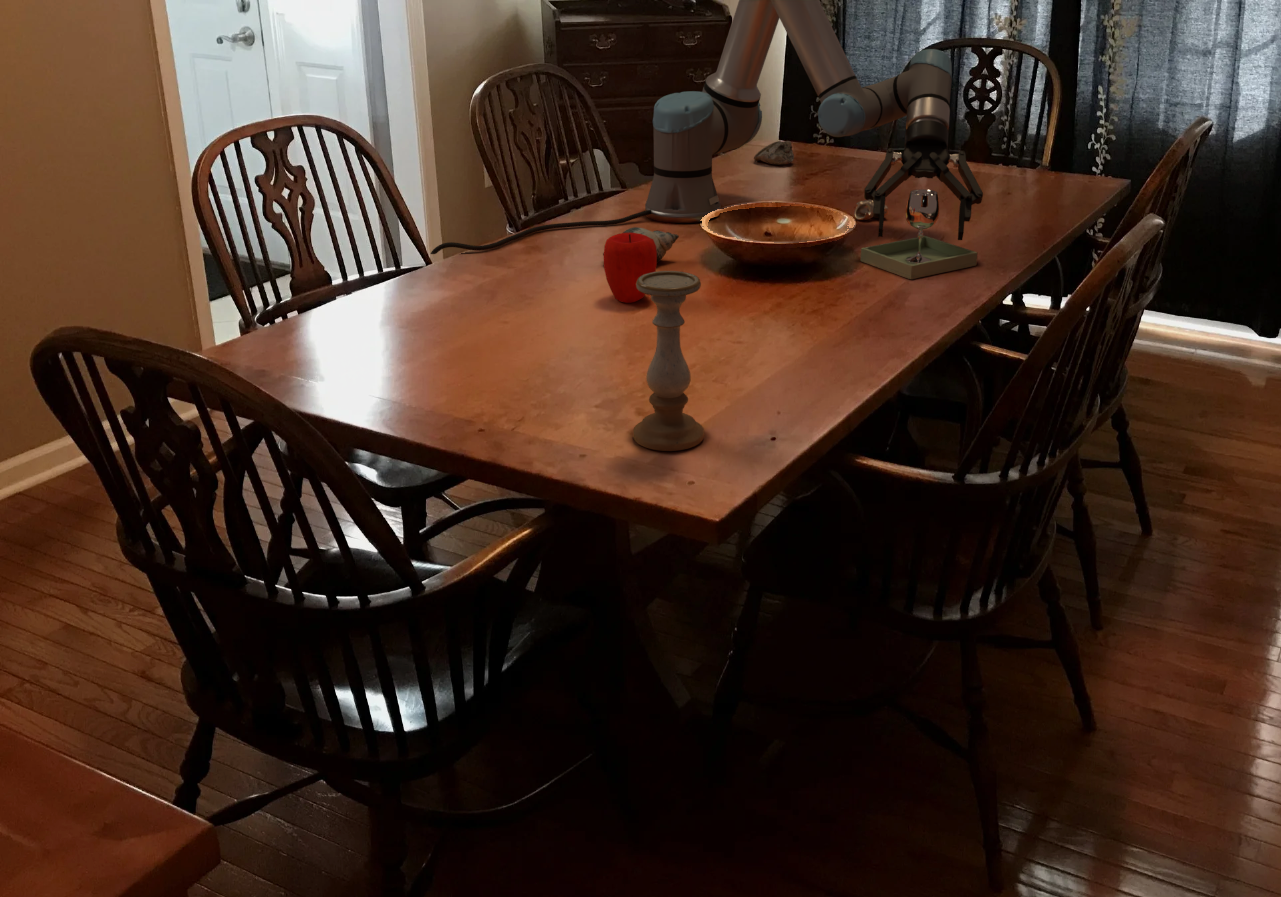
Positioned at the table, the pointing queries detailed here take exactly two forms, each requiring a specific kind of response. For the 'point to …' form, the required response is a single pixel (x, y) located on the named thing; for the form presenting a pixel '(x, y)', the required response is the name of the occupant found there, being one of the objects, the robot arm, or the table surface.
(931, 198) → the wineglass
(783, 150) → the grey rock
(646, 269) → the apple
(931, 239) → the tray
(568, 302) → the table surface
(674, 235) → the seashell
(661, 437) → the candle holder
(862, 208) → the ornament
